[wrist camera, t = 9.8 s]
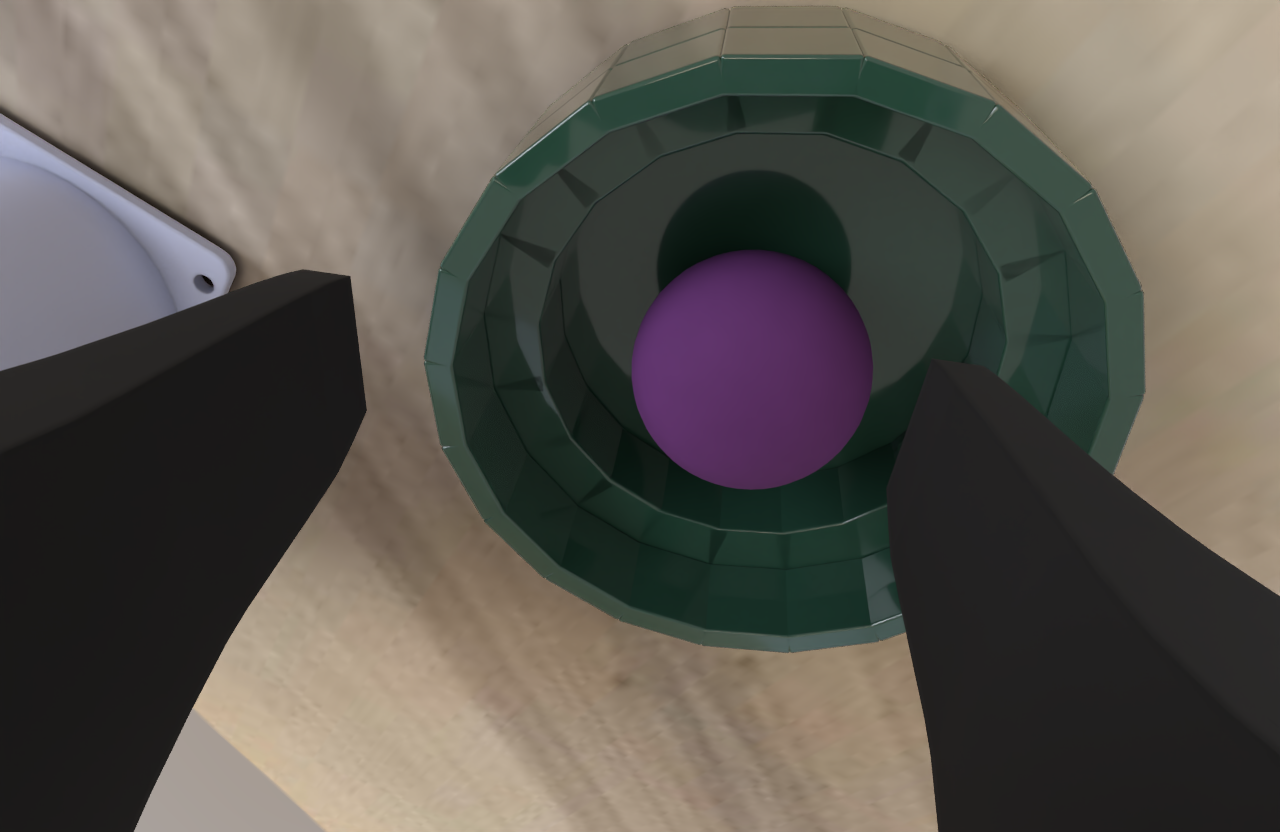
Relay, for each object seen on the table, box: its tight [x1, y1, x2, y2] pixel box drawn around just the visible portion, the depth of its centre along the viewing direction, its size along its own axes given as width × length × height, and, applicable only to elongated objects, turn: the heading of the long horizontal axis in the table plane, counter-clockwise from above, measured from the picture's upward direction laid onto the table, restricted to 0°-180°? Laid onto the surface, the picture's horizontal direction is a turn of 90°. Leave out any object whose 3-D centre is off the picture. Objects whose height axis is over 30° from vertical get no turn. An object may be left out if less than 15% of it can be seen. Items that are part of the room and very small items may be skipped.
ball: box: [632, 250, 873, 490], centre depth 17 cm, size 5×5×5 cm
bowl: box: [424, 6, 1145, 653], centre depth 18 cm, size 13×13×5 cm
